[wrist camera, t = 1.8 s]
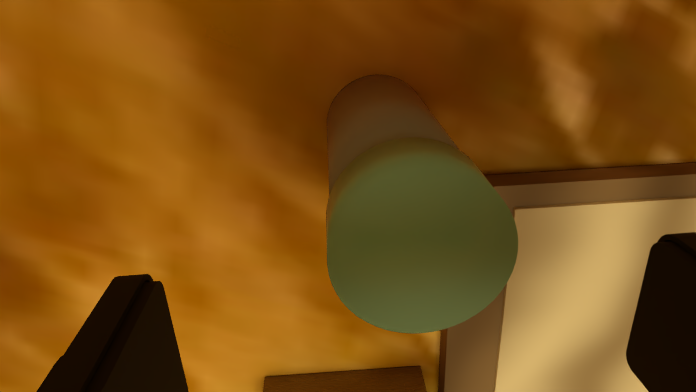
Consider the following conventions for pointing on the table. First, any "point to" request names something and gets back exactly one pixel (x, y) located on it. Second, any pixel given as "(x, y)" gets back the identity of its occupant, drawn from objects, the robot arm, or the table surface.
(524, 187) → the board
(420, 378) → the button housing
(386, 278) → the cylinder
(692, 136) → the table surface
